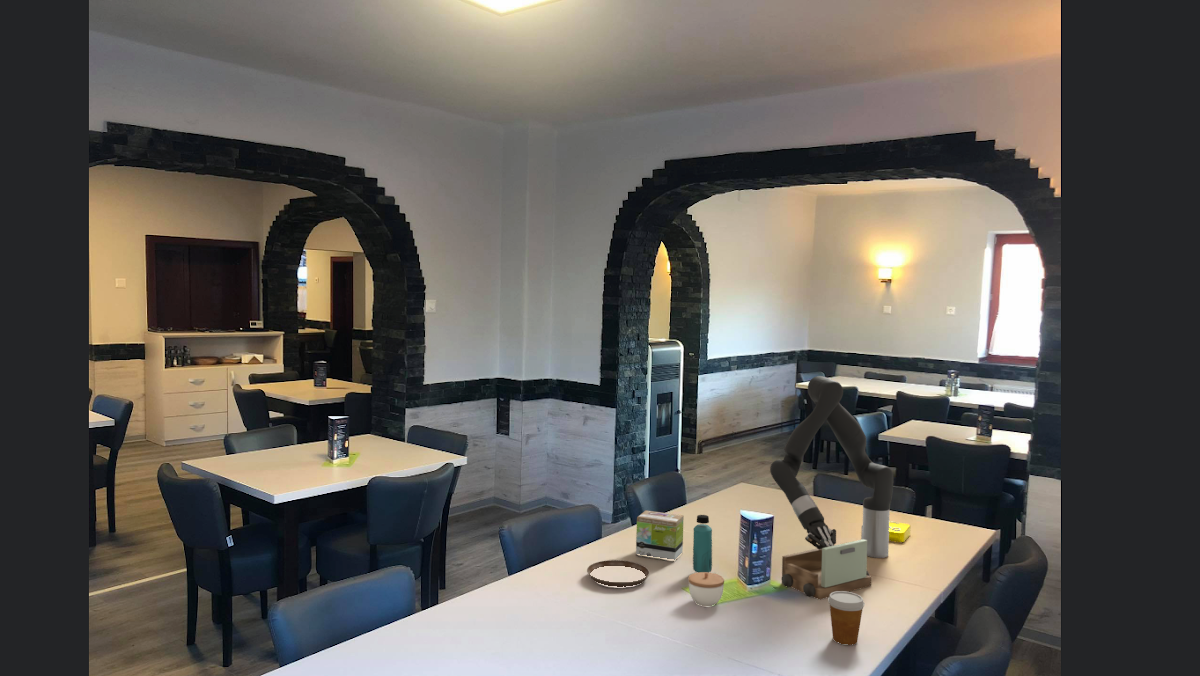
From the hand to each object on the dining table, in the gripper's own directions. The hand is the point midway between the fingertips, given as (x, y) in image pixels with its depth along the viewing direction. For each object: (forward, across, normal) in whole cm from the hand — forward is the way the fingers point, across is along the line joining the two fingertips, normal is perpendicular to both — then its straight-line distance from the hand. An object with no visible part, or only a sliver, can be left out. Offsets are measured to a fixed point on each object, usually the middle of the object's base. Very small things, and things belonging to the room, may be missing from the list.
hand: (834, 558), depth 245 cm
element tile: (-14, +64, +28) cm, 71 cm away
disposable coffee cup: (+27, -28, -14) cm, 41 cm away
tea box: (-31, -31, +45) cm, 62 cm away
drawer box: (+4, 0, +9) cm, 10 cm away
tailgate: (+8, 0, +1) cm, 8 cm away
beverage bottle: (-15, -30, +28) cm, 44 cm away
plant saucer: (-22, -57, +36) cm, 71 cm away
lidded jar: (0, -44, +14) cm, 47 cm away
